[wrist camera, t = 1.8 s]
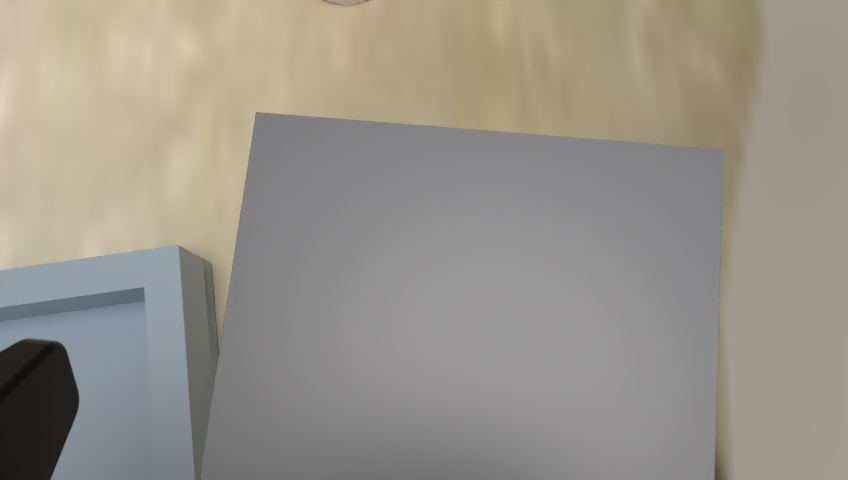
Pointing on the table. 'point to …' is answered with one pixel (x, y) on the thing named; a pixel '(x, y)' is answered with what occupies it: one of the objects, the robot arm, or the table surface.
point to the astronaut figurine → (346, 1)
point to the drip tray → (125, 357)
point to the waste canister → (468, 307)
